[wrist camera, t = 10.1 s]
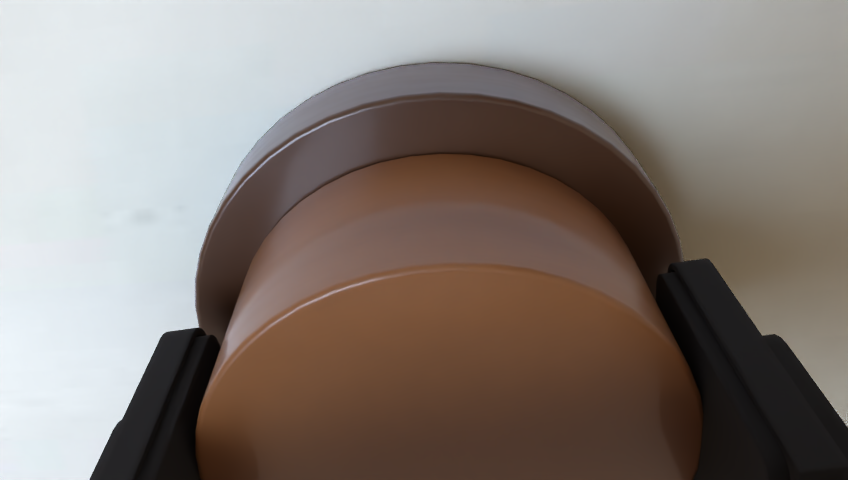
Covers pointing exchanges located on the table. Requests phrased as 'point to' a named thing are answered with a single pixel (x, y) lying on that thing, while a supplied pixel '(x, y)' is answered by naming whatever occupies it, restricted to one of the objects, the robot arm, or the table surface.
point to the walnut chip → (425, 135)
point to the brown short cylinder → (447, 339)
